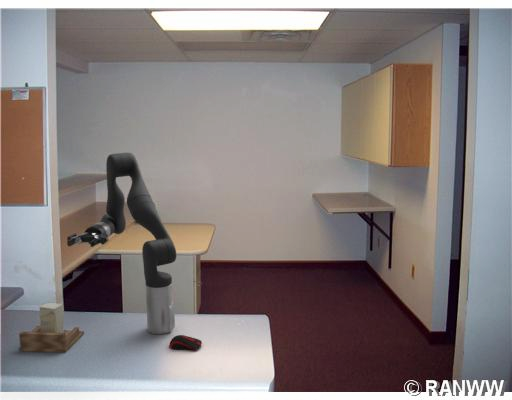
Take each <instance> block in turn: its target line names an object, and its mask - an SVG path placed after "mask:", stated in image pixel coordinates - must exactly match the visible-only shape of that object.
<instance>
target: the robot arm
mask: <svg viewBox="0 0 512 400" xmlns="http://www.w3.org/2000/svg"><path fill="white" fill-rule="evenodd" d="M105 168H106V187H107V190H106V191H107V199H106V207H105V208H106V209H105V211H106V213H105V214H104V215H102V217H101V219H100V221H99V222H96V223H94V224H92V225H90V226H89V227H87V228H86V229H85V231H84V233H80V234H78V233H72V234H71V235H69V236H67V238H66V239H67V241H66V243H67V247H72V246H74V245H76V244H78V245H82V244H89V245H90V247H91V248H94V247H96V246H98V245H100V244H101V245H105V244H107V243H108V242H109V237H111V235H113V234H116V235H121V234H122V233H124V231H125V230H126V226H127V225H126V224H127V223H126V222H127V221H126V217H125V212H124V209H125V202H126V205H127V206H126V207H127V208H128V211H129V213H130V216H131V217H132V219H133V220H134V221H135V222H136V223H137V224H138V225H140V226H141V227H143V228H144V229H145V230H147V232H149V233H150V234H151V235H152V236H153V237H154V238H155V239H152V240H148V241H145V242H144V243H143V244H142V249H141V251H142V252H141V253H142V262H143V263H142V264H143V275H144V279H145V281H144V282H145V302H146V304H145V305H146V323H147V324H146V326H147V328H146V329H147V332H149V333H150V334H154V335H163V334H169V333H172V331H174V328H175V326H176V318H175V301H173V278H172V275H171V274H170V273H168V272H164V271H159V270H158V267H160V266H164V265H169V264H172V263H174V262H175V261H176V259H177V250H176V246H175V244H174V241H173V240H172V238H171V236H170V235H169V233H168V231H167V229H166V227H165V225H164V223H163V222H162V220H161V217H160V215H159V213H158V211H157V208H156V205H155V203H154V201H153V198H152V196H151V195H150V192H149V190H148V188H147V186H146V183H145V181H144V178H143V175H142V172H141V170H140V166H139V163H138V160H137V158H136V156H135V155H134V154H133V153H132V152H120V153H119V152H118V153H112V154H109V155H108V156H107V158H106V167H105ZM121 177H122V178H123V177H130V180H131V185H130V188H129V191H128V194H127V197H126V198H125V194H124V193H123V191H122V189H120V187H119V185H118V184H117V178H121ZM125 200H126V201H125Z"/></svg>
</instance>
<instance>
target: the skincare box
mask: <svg viewBox="0 0 512 400" xmlns="http://www.w3.org/2000/svg"><path fill="white" fill-rule="evenodd" d="M63 314H64V313H63V304H62V303H55V302H45V303H43V304H42V305H39V324H40V325H39V326H41V332H45V333H63V330H64V315H63Z"/></svg>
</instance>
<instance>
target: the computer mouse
mask: <svg viewBox="0 0 512 400" xmlns="http://www.w3.org/2000/svg"><path fill="white" fill-rule="evenodd" d="M202 344H203V343H202V340H200V339H198V338H195V337H192V336H189V335H188V336H187V335H184V334H179V335H175V336H173V337H172V339H170V342H169V346H168V347H169V349H170V350H172V351H198V350H199V349H200V348H201V345H202Z"/></svg>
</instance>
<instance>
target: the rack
mask: <svg viewBox="0 0 512 400" xmlns="http://www.w3.org/2000/svg"><path fill="white" fill-rule="evenodd" d="M18 334H19V335H18V336H19V346H18V350H24V351H23V352H25V351H26V352H42V353H44V352H46V353H67V352H68V351H69V350H71V348H72V347H73V346H74V345H75V344H76V342H78V341H79V340H80V339H81V337H83V336H84V334H85V331H84V330H80V327H77V326H75V327H74V328H73V329H71V330H65V329H63V333H45V332H41V326H40V325H37V326H36V327H34V328H33V329H32V330H31V331H20V332H19V333H18Z"/></svg>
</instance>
